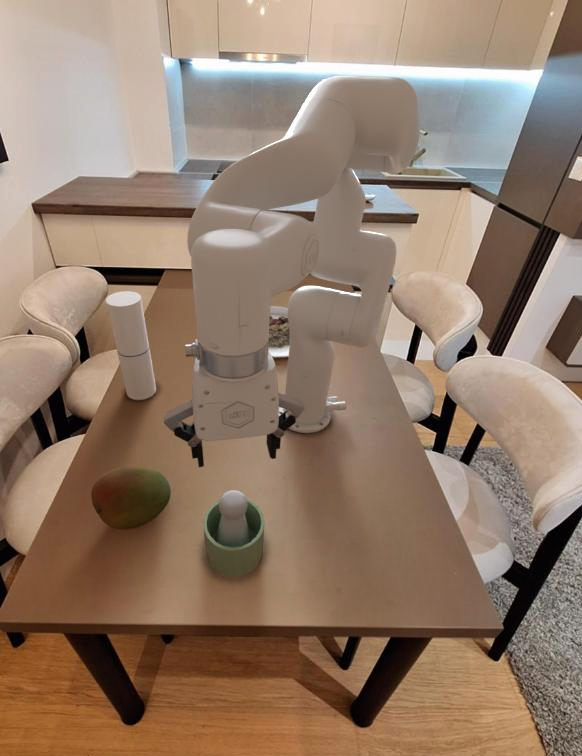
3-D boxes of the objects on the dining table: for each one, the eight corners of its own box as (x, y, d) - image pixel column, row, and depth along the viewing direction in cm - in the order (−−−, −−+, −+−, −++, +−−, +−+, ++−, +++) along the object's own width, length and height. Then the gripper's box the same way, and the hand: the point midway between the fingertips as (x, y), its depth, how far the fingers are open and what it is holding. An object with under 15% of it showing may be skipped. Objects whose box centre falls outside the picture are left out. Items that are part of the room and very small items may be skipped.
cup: (257, 521, 71) (258, 493, 66) (266, 572, 64) (269, 545, 59) (204, 527, 70) (202, 500, 65) (208, 581, 63) (205, 554, 58)
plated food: (340, 350, 116) (342, 340, 114) (244, 370, 107) (244, 360, 105) (295, 305, 138) (296, 296, 136) (212, 319, 129) (211, 309, 127)
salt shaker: (246, 567, 64) (247, 520, 56) (212, 559, 65) (208, 512, 57) (254, 534, 68) (256, 487, 60) (221, 528, 69) (219, 480, 61)
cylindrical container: (126, 402, 96) (105, 307, 80) (126, 384, 101) (106, 292, 86) (157, 397, 97) (141, 304, 82) (155, 380, 103) (140, 289, 87)
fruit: (89, 511, 72) (75, 475, 66) (149, 473, 79) (141, 437, 73) (122, 555, 66) (110, 520, 59) (184, 510, 73) (179, 474, 66)
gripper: (151, 379, 39) (171, 485, 50) (320, 364, 42) (304, 469, 53) (154, 338, 45) (171, 441, 56) (302, 327, 47) (291, 428, 58)
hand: (236, 454), depth 54 cm, fingers open, 9 cm apart
